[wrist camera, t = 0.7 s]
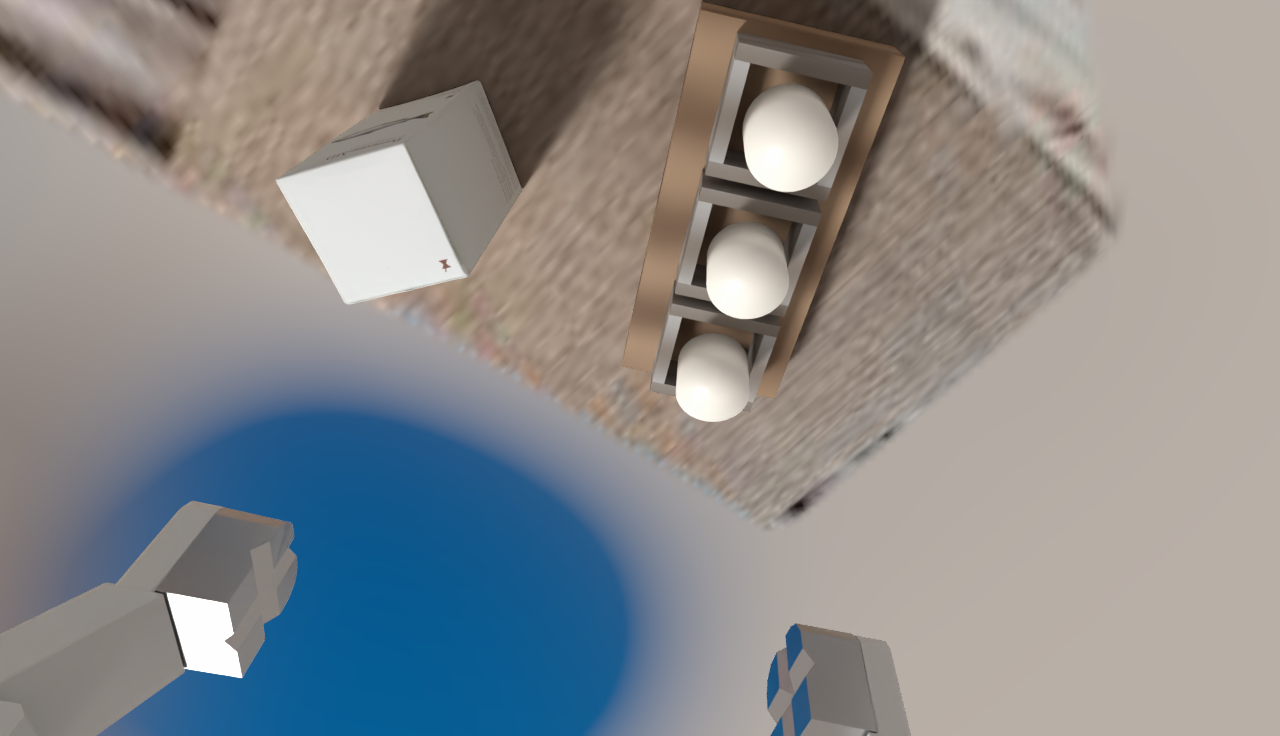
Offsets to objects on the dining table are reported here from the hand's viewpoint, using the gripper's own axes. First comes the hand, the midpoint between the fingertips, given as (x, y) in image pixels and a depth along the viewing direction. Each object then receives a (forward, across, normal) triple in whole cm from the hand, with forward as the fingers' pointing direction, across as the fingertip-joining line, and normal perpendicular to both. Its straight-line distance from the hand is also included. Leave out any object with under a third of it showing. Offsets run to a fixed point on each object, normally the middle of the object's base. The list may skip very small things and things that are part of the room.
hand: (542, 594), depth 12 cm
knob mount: (+37, -7, +7) cm, 38 cm away
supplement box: (+37, +12, +7) cm, 40 cm away
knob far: (+31, -7, +15) cm, 35 cm away
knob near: (+31, -7, 0) cm, 32 cm away
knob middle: (+31, -7, +7) cm, 32 cm away
